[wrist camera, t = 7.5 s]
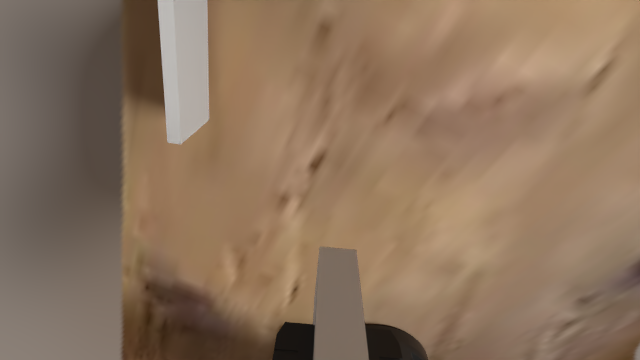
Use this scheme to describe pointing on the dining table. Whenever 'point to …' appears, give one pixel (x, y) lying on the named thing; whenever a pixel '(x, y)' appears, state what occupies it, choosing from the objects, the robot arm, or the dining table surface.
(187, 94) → the door
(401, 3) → the dining table surface
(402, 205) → the dining table surface
